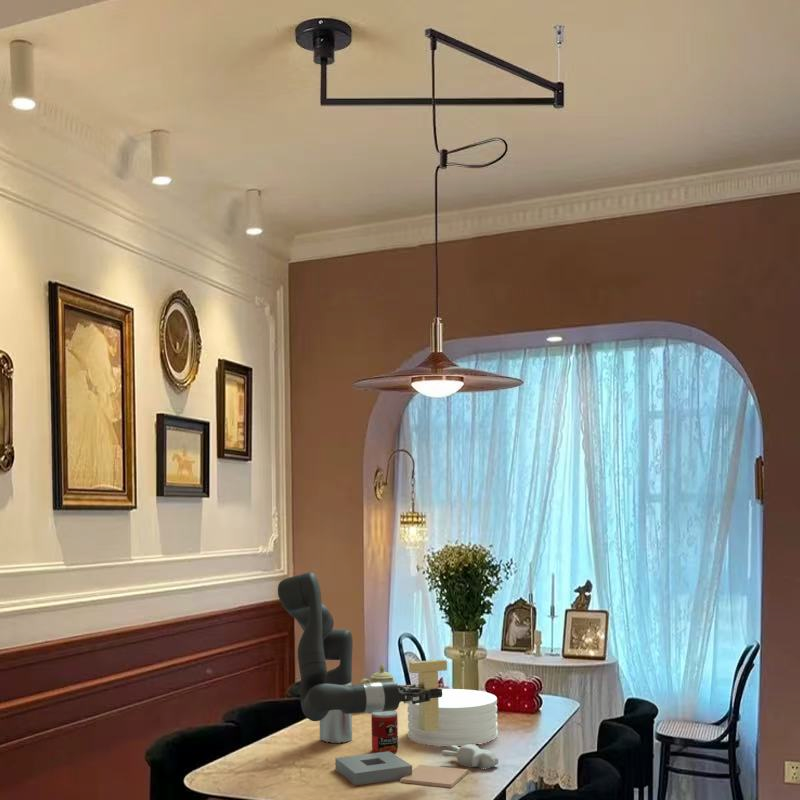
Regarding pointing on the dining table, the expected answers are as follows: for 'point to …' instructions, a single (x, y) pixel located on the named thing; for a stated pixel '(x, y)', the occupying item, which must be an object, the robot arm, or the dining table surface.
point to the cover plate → (372, 767)
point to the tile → (435, 776)
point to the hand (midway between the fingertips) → (437, 691)
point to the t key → (428, 681)
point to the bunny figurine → (472, 756)
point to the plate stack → (458, 719)
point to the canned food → (384, 731)
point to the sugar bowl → (379, 676)
